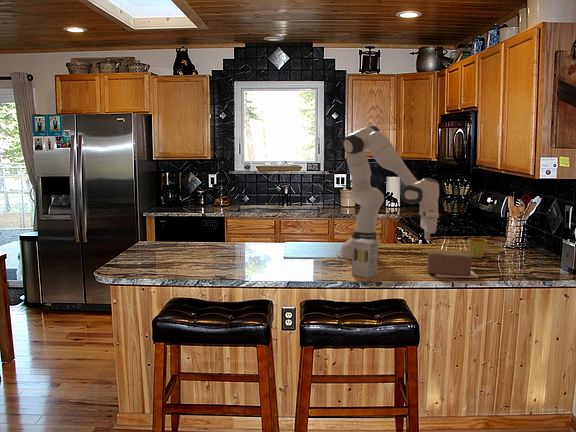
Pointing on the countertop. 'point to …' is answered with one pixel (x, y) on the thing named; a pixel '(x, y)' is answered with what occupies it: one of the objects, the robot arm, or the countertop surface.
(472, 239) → the plant pot
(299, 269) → the countertop surface
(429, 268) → the wooden block
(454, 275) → the mat
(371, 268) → the supplement box
